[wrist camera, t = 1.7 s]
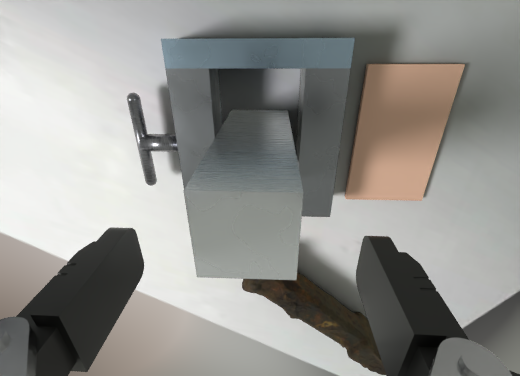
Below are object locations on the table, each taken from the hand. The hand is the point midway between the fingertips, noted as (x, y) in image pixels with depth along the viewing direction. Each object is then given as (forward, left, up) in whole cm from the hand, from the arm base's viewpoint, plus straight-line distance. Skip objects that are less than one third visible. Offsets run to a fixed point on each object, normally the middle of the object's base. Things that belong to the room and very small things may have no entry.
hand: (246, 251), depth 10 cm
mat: (0, +10, -12) cm, 16 cm away
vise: (-1, -2, -12) cm, 13 cm away
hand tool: (+17, +7, -13) cm, 22 cm away
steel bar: (0, 0, -12) cm, 12 cm away
